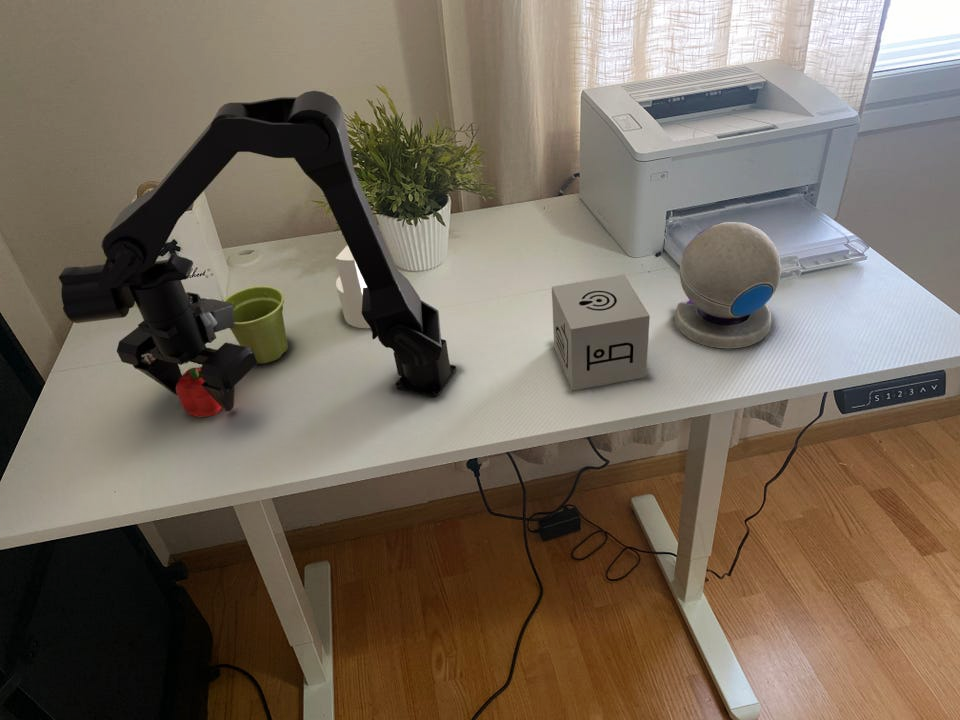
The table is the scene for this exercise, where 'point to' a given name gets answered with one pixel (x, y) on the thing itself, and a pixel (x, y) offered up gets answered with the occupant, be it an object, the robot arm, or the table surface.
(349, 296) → the cylinder with rectangular tab
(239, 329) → the plant pot
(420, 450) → the table surface
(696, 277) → the webcam
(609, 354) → the icon cube
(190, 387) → the pepper
